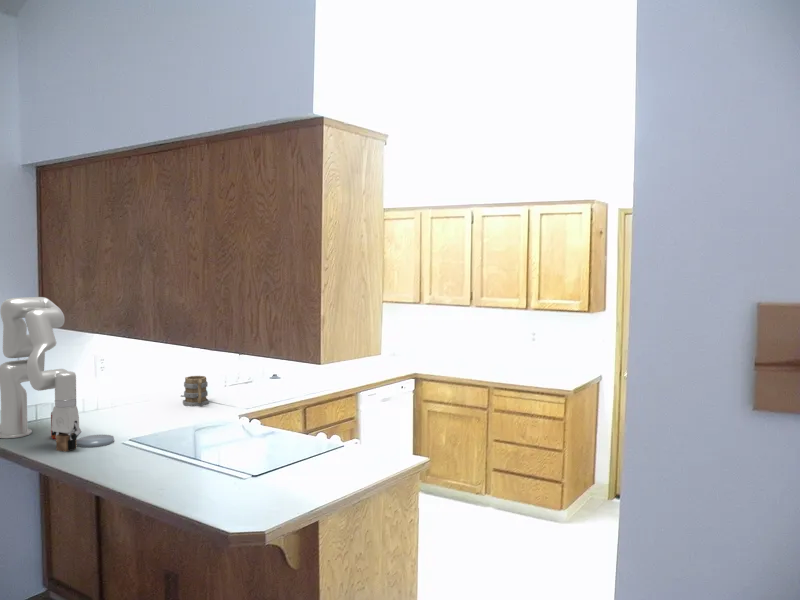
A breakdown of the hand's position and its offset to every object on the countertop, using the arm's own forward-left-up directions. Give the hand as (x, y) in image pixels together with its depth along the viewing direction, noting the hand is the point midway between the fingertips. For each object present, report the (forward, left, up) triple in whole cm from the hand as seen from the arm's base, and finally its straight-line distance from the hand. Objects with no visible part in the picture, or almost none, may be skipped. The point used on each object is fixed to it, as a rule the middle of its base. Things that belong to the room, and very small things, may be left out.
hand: (66, 448), depth 255 cm
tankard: (-4, +85, -1) cm, 85 cm away
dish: (+3, +12, -1) cm, 12 cm away
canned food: (-16, +12, -1) cm, 20 cm away
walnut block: (0, 0, -1) cm, 1 cm away
